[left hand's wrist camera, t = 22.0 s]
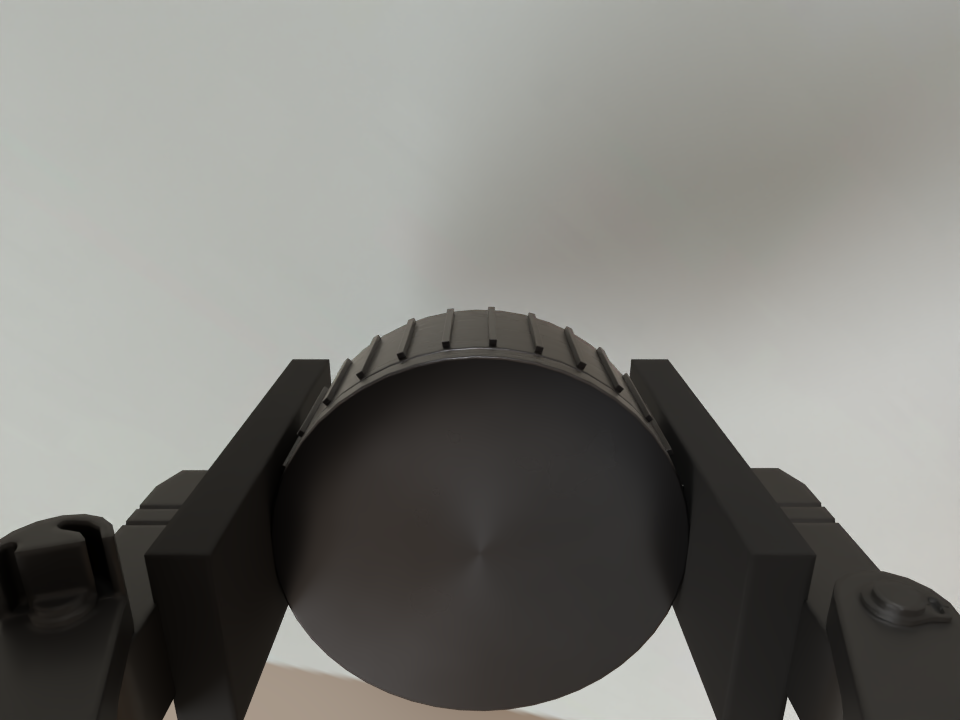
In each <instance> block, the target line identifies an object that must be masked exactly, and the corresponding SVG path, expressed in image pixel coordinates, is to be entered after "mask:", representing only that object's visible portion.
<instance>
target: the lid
mask: <svg viewBox="0 0 960 720" xmlns="http://www.w3.org/2000/svg"><path fill="white" fill-rule="evenodd" d="M297 435H298V436H299V437H298V438H297V440H296V442H295V444H294V446H293V447H292V449H291V451H290V453H289V454H288V456H287V458H286V460H285V461H284V463H283V465H282V468H281V471H283V474H282V477H281V479H280V482H279V484H278V487H277V492H276V496H275V500H274V504H273V508H272V519H271V540H272V548H273V557H274V564H275V570H276V574H277V578H278V581H279V584H280V586H281V589H282V591H283V594H284V596H285V599H286V601H287V603H288V605H289V606H290V608H291V610H292V612H293V613H294V615H295V617H296V619H297V620H298V622H299V623H300V624H301V626H302V627H303V628H304V630H305V631H306V632H307V634H308V635H309V636H310V637H311V639H312V640H313V641H314V642H315V643H316V644H317V645H318V646H319V647H320V648H321V649H322V650H323V651H324V652H325V653H326V654H327V655H328V656H329V657H331V658H332V659H333V660H334V661H336V662H337V663H338V664H339V665H341V666H342V667H343V668H344V669H346V670H347V671H349V672H350V673H352V674H354V675H355V676H357V677H358V678H360V679H362V680H363V681H365V682H366V683H368V684H371V685H373V686H375V687H377V688H379V689H381V690H383V691H385V692H387V693H390V694H393V695H396V696H398V697H401V698H404V699H407V700H410V701H413V702H417V703H421V704H426V705H430V706H434V707H440V708H447V709H455V710H470V711H492V710H507V709H514V708H520V707H526V706H532V705H536V704H540V703H544V702H547V701H551V700H555V699H558V698H560V697H563V696H565V695H568V694H571V693H573V692H576V691H578V690H580V689H582V688H584V687H586V686H588V685H590V684H592V683H594V682H596V681H598V680H600V679H601V678H603V677H604V676H606V675H607V674H609V673H610V672H612V671H613V670H615V669H616V668H618V667H619V666H621V665H622V664H623V663H624V662H625V661H627V660H628V659H629V658H630V657H631V656H632V655H634V654H635V653H636V652H637V651H638V650H639V649H640V648H641V647H642V646H643V645H644V644H645V643H646V641H647V640H648V639H649V638H650V637H651V636H652V635H653V634H654V632H655V631H656V630H657V628H658V627H659V625H660V624H661V622H662V621H663V620H664V618H665V617H666V615H667V614H668V612H669V610H670V608H671V606H672V604H673V602H674V600H675V598H676V596H677V594H678V591H679V588H680V585H681V582H682V579H683V577H684V574H685V569H686V561H687V554H688V546H689V535H690V521H689V514H688V506H687V500H686V497H685V493H684V485H683V483H682V482H681V480H680V477H679V475H678V473H677V471H676V469H675V467H674V465H673V462H672V460H671V458H670V456H671V455H673V454H674V453H673V451H672V449H671V447H670V445H669V444H668V442H667V440H666V438H665V436H664V435H663V433H662V431H661V429H660V428H659V426H658V424H657V422H656V421H655V419H654V417H653V415H652V414H651V412H650V410H649V408H648V407H647V405H646V403H644V402H643V400H642V398H641V396H640V394H639V393H638V391H637V389H636V387H635V386H634V384H633V382H632V380H631V378H630V377H629V376H628V374H627V373H626V374H624V375H622V374H621V373H620V372H619V371H618V370H617V368H616V367H615V366H614V365H613V364H612V363H611V362H610V361H609V359H608V357H607V355H606V353H605V351H604V350H603V349H602V348H601V347H599V348H598V349H597V350H596V349H595V348H594V347H593V346H592V345H590V344H589V343H587V342H586V341H584V340H582V339H581V338H579V337H578V336H576V335H574V333H573V330H572V329H571V328H569V327H566V328H565V329H563V328H560V327H558V326H556V325H554V324H552V323H549V322H547V321H543V320H540V319H537V318H536V317H535V314H532V313H529V314H528V316H527V315H522V314H516V313H511V312H505V311H495V307H488V310H468V311H456V312H454V309H447V313H444V314H439V315H435V316H430V317H426V318H423V319H421V320H418V321H415V319H414V318H412V319H410V320H408V323H407V324H406V325H404V326H402V327H400V328H398V329H396V330H394V331H392V332H390V333H388V334H386V335H384V336H382V337H381V338H380V336H379V335H377V336H375V337H374V338H373V340H372V342H371V344H370V345H369V346H368V347H367V348H365V349H364V350H363V351H362V352H360V353H359V354H358V355H357V356H356V357H355V358H354V359H353V360H352V361H351V360H350V359H348V358H347V359H346V360H345V361H344V363H343V365H342V367H341V368H340V370H339V372H338V374H337V376H336V377H335V379H334V381H333V383H332V384H331V386H330V388H329V389H328V388H327V387H324V388H323V390H322V391H321V393H320V395H319V396H318V398H317V400H316V402H315V403H314V405H313V407H312V409H311V410H310V412H309V414H308V416H307V417H306V419H305V421H304V423H303V424H302V426H301V428H300V430H299V431H298V433H297Z"/></svg>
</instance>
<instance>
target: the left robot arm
mask: <svg viewBox="0 0 960 720" xmlns="http://www.w3.org/2000/svg"><path fill="white" fill-rule="evenodd" d="M630 378H631V380H632V382H633V384H634V386H635V387H636V389H637V391H638V393H639V394H640V396H641V398H642V400H643V402H644V403H646V405H647V407H648V408H649V410H650V412H651V414H652V415H653V417H654V419H655V421H656V422H657V424H658V426H659V428H660V429H661V431H662V433H663V435H664V436H665V438H666V440H667V442H668V444H669V445H670V447H671V449H672V451H673V453H674V454H673V455H671V456H670V458H671V460H672V462H673V465H674V467H675V469H676V471H677V473H678V475H679V477H680V480H681V482H682V483H683V485H684V493H685V497H686V500H687V506H688V514H689V521H690V535H689V546H688V554H687V561H686V569H685V574H684V577H683V579H682V582H681V585H680V588H679V591H678V594H677V596H676V598H675V600H674V602H673V604H672V606H673V608H674V611H675V613H676V616H677V618H678V621H679V624H680V626H681V629H682V631H683V634H684V636H685V639H686V642H687V644H688V647H689V649H690V652H691V654H692V657H693V659H694V662H695V665H696V667H697V670H698V672H699V675H700V677H701V680H702V683H703V685H704V688H705V690H706V693H707V695H708V698H709V701H710V703H711V706H712V708H713V711H714V713H715V716H716V718H717V720H783V716H784V712H785V707H786V702H787V697H788V698H789V700H790V702H791V704H792V706H793V708H794V710H795V711H796V713H797V715H798V717H799V719H800V720H960V615H959V613H958V612H957V611H956V610H955V608H954V607H953V606H952V605H951V603H950V602H948V601H947V600H945V599H944V598H943V597H941V596H940V595H939V594H937V593H936V592H935V591H933V590H932V589H930V588H928V587H926V586H924V585H922V584H919V583H917V582H915V581H913V580H911V579H909V578H906V577H902V576H899V575H895V574H891V573H888V572H884V571H880V570H879V569H878V568H877V566H876V565H875V564H874V563H873V562H872V561H871V560H870V558H869V557H868V556H867V555H866V554H865V553H864V552H863V550H862V549H861V548H860V547H859V546H858V545H857V544H856V542H855V541H854V540H853V539H852V538H851V537H850V536H849V534H848V533H847V532H846V531H845V530H844V529H843V528H842V526H841V525H840V524H839V523H835V518H834V517H833V516H832V515H831V514H830V513H829V511H828V510H827V509H826V508H825V507H821V502H820V501H819V500H818V499H817V498H816V497H815V495H814V494H813V493H812V492H811V491H810V490H809V489H808V487H807V486H806V485H805V484H803V483H802V482H800V481H799V480H797V479H795V478H794V477H792V476H790V475H789V474H787V473H785V472H784V471H782V470H780V469H779V468H750V467H749V465H748V464H747V463H746V462H745V460H744V459H743V458H742V456H741V455H740V454H739V452H738V451H737V450H736V448H735V447H734V446H733V444H732V443H731V442H730V440H729V439H728V438H727V437H726V435H725V434H724V433H723V431H722V430H721V429H720V427H719V426H718V425H717V423H716V422H715V421H714V419H713V418H712V417H711V416H710V414H709V413H708V412H707V410H706V409H705V408H704V406H703V405H702V404H701V402H700V401H699V400H698V398H697V397H696V396H695V394H694V393H693V392H692V391H691V389H690V388H689V387H688V385H687V384H686V383H685V381H684V380H683V379H682V377H681V376H680V375H679V373H678V372H677V371H676V369H675V368H674V367H673V366H672V364H671V363H670V362H669V360H668V359H631V369H630ZM330 386H331V376H330V364H329V359H293V360H292V361H291V362H290V363H289V365H288V366H287V367H286V369H285V370H284V371H283V373H282V374H281V375H280V377H279V378H278V379H277V381H276V382H275V383H274V385H273V386H272V387H271V388H270V390H269V391H268V392H267V394H266V395H265V396H264V398H263V399H262V400H261V402H260V403H259V404H258V406H257V407H256V408H255V410H254V411H253V412H252V413H251V415H250V416H249V417H248V419H247V420H246V421H245V423H244V424H243V425H242V427H241V428H240V429H239V431H238V432H237V433H236V435H235V436H234V437H233V438H232V440H231V441H230V442H229V444H228V445H227V446H226V448H225V449H224V450H223V452H222V453H221V454H220V456H219V457H218V458H217V460H216V461H215V462H214V463H213V465H212V466H211V467H210V469H209V470H182V471H181V472H179V473H177V474H176V475H174V476H173V477H171V478H169V479H168V480H166V481H164V482H163V483H161V484H159V485H158V486H156V487H155V488H154V490H153V491H152V492H151V493H150V494H149V495H148V497H147V498H146V499H145V500H144V501H143V502H142V503H141V505H140V509H136V510H135V512H134V513H133V514H132V515H131V516H130V517H129V518H128V520H127V521H126V525H122V527H121V528H120V529H119V530H118V531H117V532H116V533H115V534H114V530H113V525H112V524H111V523H109V522H108V521H107V520H105V519H104V518H103V517H98V516H93V515H87V514H78V515H62V516H58V517H54V518H50V519H45V520H41V521H37V522H35V523H32V524H30V525H27V526H25V527H22V528H20V529H17V530H15V531H13V532H11V533H9V534H8V535H6V536H5V537H3V538H1V539H0V720H163V718H164V716H165V714H166V712H167V710H168V708H169V706H170V704H171V702H172V701H173V700H174V704H175V709H176V714H177V719H178V720H244V717H245V714H246V712H247V709H248V707H249V704H250V702H251V699H252V697H253V694H254V691H255V689H256V686H257V684H258V681H259V678H260V676H261V673H262V671H263V668H264V666H265V663H266V661H267V658H268V655H269V653H270V650H271V648H272V645H273V643H274V640H275V638H276V635H277V632H278V630H279V627H280V625H281V622H282V620H283V617H284V614H285V612H286V609H287V607H288V603H287V601H286V599H285V596H284V594H283V591H282V589H281V586H280V584H279V581H278V578H277V574H276V570H275V564H274V557H273V548H272V540H271V519H272V508H273V504H274V500H275V496H276V492H277V487H278V484H279V482H280V479H281V477H282V474H283V471H281V468H282V465H283V463H284V461H285V460H286V458H287V456H288V454H289V453H290V451H291V449H292V447H293V446H294V444H295V442H296V440H297V438H298V437H299V436H298V435H297V433H298V431H299V430H300V428H301V426H302V424H303V423H304V421H305V419H306V417H307V416H308V414H309V412H310V410H311V409H312V407H313V405H314V403H315V402H316V400H317V398H318V396H319V395H320V393H321V391H322V390H323V388H324V387H327V388H328V389H329V388H330Z"/></svg>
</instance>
